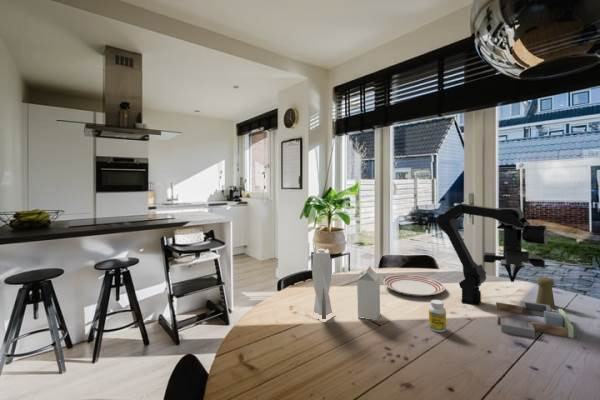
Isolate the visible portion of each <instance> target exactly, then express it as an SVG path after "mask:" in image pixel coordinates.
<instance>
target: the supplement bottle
mask: <svg viewBox="0 0 600 400" xmlns="http://www.w3.org/2000/svg"><path fill="white" fill-rule="evenodd" d="M428 323H429V325H428V327H429V329H430V330H431V331H433V332H436V333H443V332H446V330H447V311H446V308H444V302H443V300H439V299H432V300H430V306H429V308H428Z"/></svg>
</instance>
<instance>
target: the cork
mask: <svg viewBox="0 0 600 400" xmlns="http://www.w3.org/2000/svg"><path fill="white" fill-rule="evenodd" d="M536 281H537V285H538V289H537V294H536V295H537V296H536V301H535V303H539V304H546V305H549V306H550V308H551V309H555V308H556V305H555V297H554V292H553V287H554V285H555V282H554V280H553V279H552V278H549V277H539V278H537V280H536Z"/></svg>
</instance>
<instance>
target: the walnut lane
mask: <svg viewBox="0 0 600 400" xmlns="http://www.w3.org/2000/svg"><path fill="white" fill-rule="evenodd" d="M523 307H524V309H526V308H525V306H523ZM495 308H496V309H495V310H497V311H504V312H510V313H517V314H522V310H523V309H522V306H520V305H519V304H518V305H517V304H511V303H503V302H498V301H497V302H495ZM548 311H549V312H551V311H553V312H555V313H559V312H558V311H557V310H553V309H551V310H548ZM523 312H525V310H524V311H523ZM523 315H527V314H526V313H524V314H523ZM501 317H502V318H503V317H504V319H505V316H499V315H497V325H500V326H501ZM528 321H529V320H527V324H526V328H528V323H532V324H533V327H534V330H535V332H539V333H544V334H549V335H550V334H551V335H557V336H560V337H567V338H569V337H568V332H569V329H568V328H566V327H560V326H554V325H548V324H545V323H541V322H534V321H529V322H528Z"/></svg>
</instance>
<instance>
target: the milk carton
mask: <svg viewBox="0 0 600 400" xmlns="http://www.w3.org/2000/svg"><path fill="white" fill-rule="evenodd" d="M359 275H360V276H359V277H358V278H357V281H356V283H357V285H356V286H357V288H356V289H357V290H356V291H357V317H358V316H359V317H364V318H369V319H373V320H372V321H374V320H377V321H378V319H379V317H380V315H381V297H380V296H381V287H380V284H381V283H380V282H381V281H380V280H381V279H380V278H381V277H380V275H379V274H378V273H377V272H376V271H375V270H373V268H372V267H371V265H368V267H367V268H366V269H362V270H361V271H360V272H359ZM379 314H380V315H379ZM378 316H379V317H378Z"/></svg>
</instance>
